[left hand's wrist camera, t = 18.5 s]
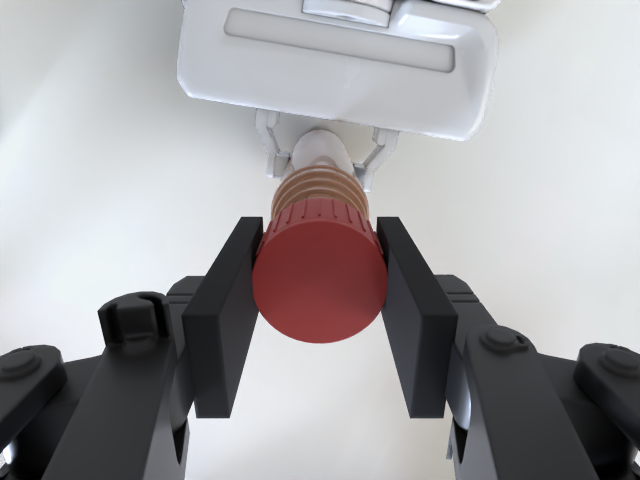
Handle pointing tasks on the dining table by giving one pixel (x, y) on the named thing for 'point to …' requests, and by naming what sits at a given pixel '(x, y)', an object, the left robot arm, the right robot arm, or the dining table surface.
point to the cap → (319, 272)
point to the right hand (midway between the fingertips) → (318, 183)
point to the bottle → (319, 174)
